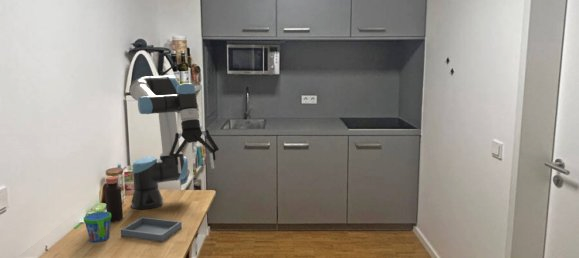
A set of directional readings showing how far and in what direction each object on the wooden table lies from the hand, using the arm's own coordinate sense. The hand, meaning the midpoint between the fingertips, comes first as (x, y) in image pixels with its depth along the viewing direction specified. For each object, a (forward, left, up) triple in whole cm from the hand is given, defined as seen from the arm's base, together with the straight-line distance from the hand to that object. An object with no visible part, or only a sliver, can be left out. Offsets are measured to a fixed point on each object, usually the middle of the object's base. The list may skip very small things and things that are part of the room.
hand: (196, 170), depth 187 cm
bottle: (-3, -45, -28) cm, 53 cm away
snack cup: (+17, -37, -28) cm, 49 cm away
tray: (+5, -20, -27) cm, 35 cm away
